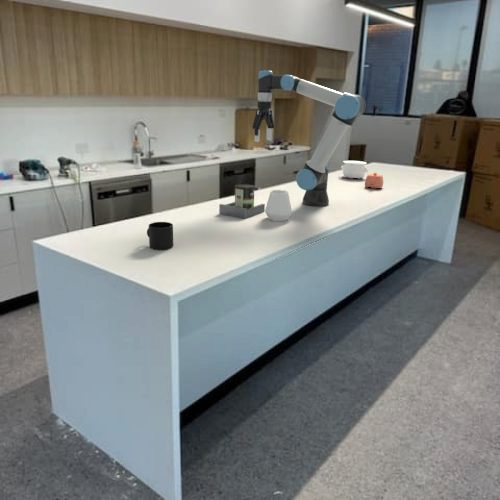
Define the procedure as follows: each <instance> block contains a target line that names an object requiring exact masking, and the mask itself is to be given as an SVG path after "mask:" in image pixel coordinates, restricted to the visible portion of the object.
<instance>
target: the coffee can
mask: <svg viewBox="0 0 500 500" xmlns="http://www.w3.org/2000/svg"><path fill="white" fill-rule="evenodd" d="M255 187H256V186H255V185H254V184H250V183H249V184H248V183H239V184H235V185H234V202H235V207H241V208H246V209H248V208H251V207H254V206H255Z"/></svg>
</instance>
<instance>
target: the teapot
mask: <svg viewBox="0 0 500 500" xmlns="http://www.w3.org/2000/svg"><path fill="white" fill-rule="evenodd" d="M383 186H384V175H382V174H378V173H377V172H373V173H369V174H367V175H366V178H365V180H364V188H368V187H371V188H370V189H375V188H380V189H382V188H383ZM381 187H382V188H381Z"/></svg>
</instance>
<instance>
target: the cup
mask: <svg viewBox="0 0 500 500" xmlns="http://www.w3.org/2000/svg"><path fill="white" fill-rule="evenodd" d="M292 210H293V209H292V204H291V198H290V195H289V191H287V190H281V189H274V190H271V191H270V193H269V196H268V200H267V203H266V206H265V211H264V212H265V214H266V216H267V218H268V220H269V221H272V220H273V221H272V222H286V221H288V219H289V218H290V216H292V212H293V211H292ZM285 220H286V221H285Z"/></svg>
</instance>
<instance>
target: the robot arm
mask: <svg viewBox="0 0 500 500" xmlns="http://www.w3.org/2000/svg"><path fill="white" fill-rule="evenodd" d="M275 90H276V91H290V92H294V93H296V94H299V95H302V96H304V97H307V98H310V99H313V100H316V101H318V102H321V103H324V104H326V105H329V106H332V107H334V110H333V112H332V114H331V118H332V119H331V122H330V123H329V126H328V127H327V129H326V131H325V133H324V135H323V137H322V139H320V142H319V144H318V145H317V148H316V149H315V151H314V153H313V154H312V156H311V159H308V160H307V161H306V162H305V164H304V165H303V167H302V168H301V169H300V170H299V171H298V172H297V174H296V177H295V182H296V185H297V186H298V188H299V189H302V190H303V191H305V193H304V194H303V197H302V204H304V205H306V206H312V207H325V206H328V205H329V204H330V203H329V202H330V199H329V195H328V179H329V171H330V170H329V165H328V162H329V161H330V159H331V157H332V156H333V154H334V152H335V150H336V148H337V147H338V145H339V143H340V142H341V139H343V136H344V134H345V133H346V131H347V129H348V128H350V127H352V126H353V125H354V123H355V121H356V119H357V118H359V117H361V116H362V115H363V114H364V113H365V110H366V107H367V103H366V100H365V99H364V97H362V96H361V95H359V94H354V93H349V92H344V93H342V92H340V91H336V90H334V89H331V88H328V87H325V86H322V85H320V84H317V83H314V82H311V81H308V80H305V79H302V78H299V77H297V76H295V75H291V74H273V71H272V70H260V71H258V79H257V109H258V110H255V116H254V120H253V123H252V130H254V142H257V143H260V141H261V140H260V139H261V138H260V137H261V134H260V133H261V129H260V127H261V125H262V123H263V121H264V120H265V123H266V125H267V126H266V127H267V128H266V141H272V138H273V137H272V133H273V129H274V128H275V123H274V119H273V118H274V117H273V110H271V109H272V99H273V98H272V92H273V91H275Z"/></svg>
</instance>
